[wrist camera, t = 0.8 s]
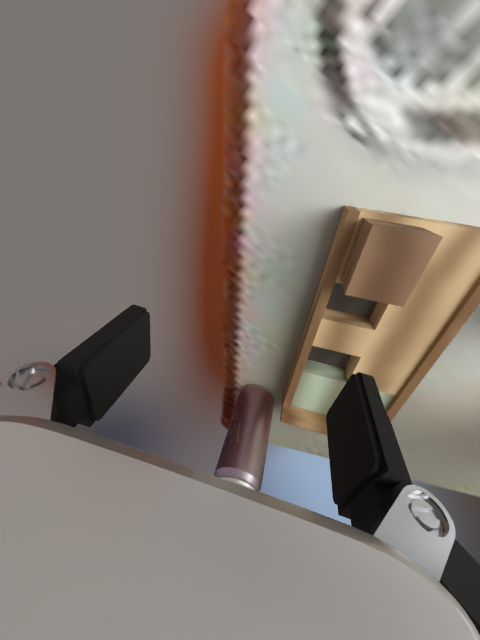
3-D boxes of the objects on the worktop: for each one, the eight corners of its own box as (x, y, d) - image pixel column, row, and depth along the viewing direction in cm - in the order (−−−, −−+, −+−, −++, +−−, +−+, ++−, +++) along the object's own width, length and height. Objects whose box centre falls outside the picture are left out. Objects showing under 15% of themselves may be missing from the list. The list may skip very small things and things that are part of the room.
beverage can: (255, 411, 43) (233, 507, 31) (233, 390, 42) (201, 481, 29) (281, 401, 40) (269, 502, 28) (259, 378, 39) (236, 473, 26)
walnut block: (421, 227, 21) (443, 237, 18) (390, 289, 24) (403, 307, 21) (362, 217, 22) (372, 225, 18) (340, 279, 25) (344, 294, 22)
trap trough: (498, 230, 22) (547, 244, 18) (372, 417, 37) (381, 450, 33) (344, 205, 24) (352, 212, 20) (283, 392, 39) (280, 421, 35)
